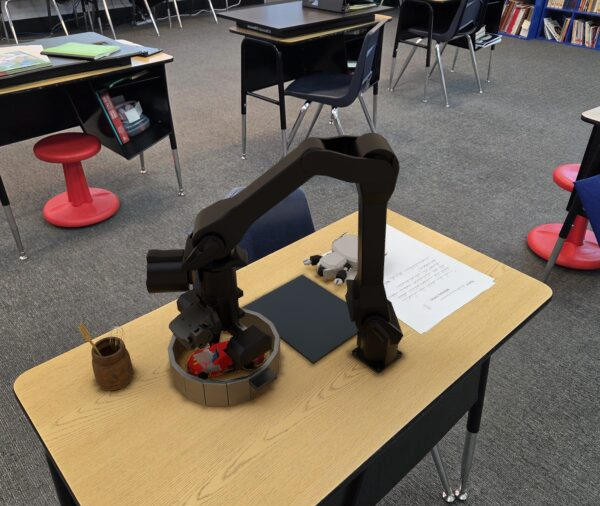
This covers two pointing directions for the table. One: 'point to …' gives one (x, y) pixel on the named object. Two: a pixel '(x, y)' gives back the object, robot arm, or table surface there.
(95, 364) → the utensil holder
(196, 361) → the race car
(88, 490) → the table surface
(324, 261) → the robot toy
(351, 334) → the rubber mat
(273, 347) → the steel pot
